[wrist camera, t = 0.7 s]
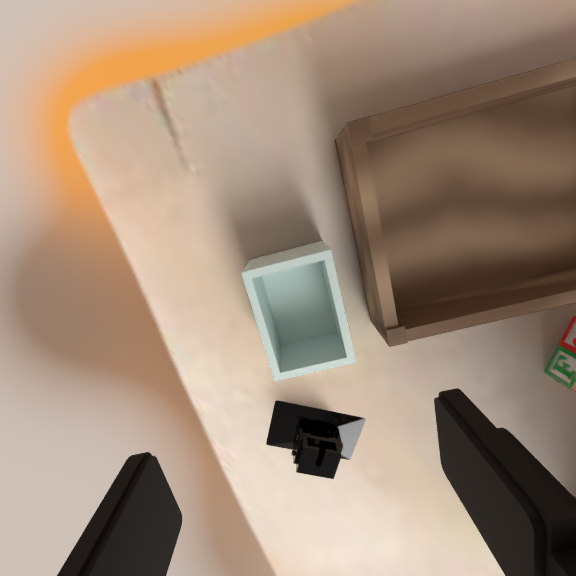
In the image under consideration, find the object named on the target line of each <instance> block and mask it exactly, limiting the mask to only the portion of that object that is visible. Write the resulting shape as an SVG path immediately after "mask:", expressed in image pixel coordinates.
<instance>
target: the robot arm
mask: <svg viewBox="0 0 576 576" xmlns="http://www.w3.org/2000/svg"><path fill="white" fill-rule="evenodd" d="M434 403H435V412H436V422H437V431H438V440H439V449H440V458H441V465H442V468H443V471H444V473H445V475H446V477H447V478H448V480H449V482H450V483H451V485H452V487H453V488H454V490H455V492H456V493H457V495H458V497H459V498H460V500H461V502H462V503H463V505H464V507H465V508H466V510H467V512H468V514H469V515H470V517H471V519H472V520H473V522H474V524H475V525H476V527H477V529H478V530H479V532H480V534H481V535H482V537H483V539H484V540H485V542H486V544H487V545H488V547H489V549H490V550H491V552H492V554H493V556H494V557H495V559H496V561H497V562H498V564H499V566H500V567H501V569H502V571H503V572H504V574H505V576H576V499H575V498H574V497H573V496H572V495H571V494H570V493H569V492H568V491H567V490H566V489H565V488H564V487H563V485H562V484H561V483H560V482H559V481H558V480H557V479H556V478H555V477H554V476H553V475H552V474H551V473H550V472H549V471H548V470H547V469H546V468H545V467H544V466H543V465H542V464H541V463H540V462H539V461H538V460H537V459H536V458H535V457H534V456H533V455H532V454H531V453H530V452H529V451H528V450H527V449H526V448H525V447H524V446H523V445H522V444H521V443H520V442H519V441H518V440H517V439H516V438H515V437H514V436H513V435H512V434H511V433H510V432H509V431H508V430H506V429H504V428H496V427H495V426H494V425H493V424H492V423H491V422H490V421H489V420H488V418H487V417H486V416H485V415H484V414H483V413H482V412H481V411H480V410H479V409H478V408H477V407H476V406H475V405H474V404H473V403H472V402H471V400H470V399H469V398H468V397H467V396H466V395H465V394H464V393H463V392H462V391H461V390H460V389H458V388H457V389H452V390H447V391H442V392H439V397H437V398H435V399H434ZM181 525H182V514H181V511H180V509H179V507H178V504H177V502H176V500H175V498H174V496H173V493H172V491H171V489H170V487H169V485H168V482H167V480H166V478H165V476H164V473H163V471H162V469H161V467H160V464H159V462H158V460H157V458H156V457H155V456H152V455H151V454H150V453H149V452H146V453H141V454H136V455H132V456H130V457H129V458H128V459H127V460H126V462H125V464H124V466H123V467H122V469H121V470H120V472H119V474H118V475H117V477H116V479H115V480H114V482H113V484H112V485H111V487H110V489H109V490H108V492H107V494H106V495H105V497H104V499H103V500H102V502H101V504H100V505H99V507H98V509H97V510H96V512H95V514H94V515H93V517H92V519H91V520H90V522H89V524H88V525H87V527H86V529H85V530H84V532H83V534H82V535H81V537H80V539H79V540H78V542H77V544H76V545H75V547H74V549H73V550H72V552H71V554H70V555H69V557H68V558H67V560H66V562H65V563H64V565H63V567H62V568H61V570H60V572H59V573H58V575H57V576H166V574H167V570H168V567H169V564H170V561H171V558H172V554H173V551H174V548H175V545H176V542H177V538H178V535H179V532H180V529H181Z"/></svg>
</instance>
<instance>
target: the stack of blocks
mask: <svg viewBox="0 0 576 576" xmlns="http://www.w3.org/2000/svg"><path fill="white" fill-rule="evenodd" d="M545 373H546V374H548V375H549V376H551V377H552V378H554V379H555V380H556V381H558V382H559V383H561V384H562V385H564V386H565V387H567V388H568V389H570V390H572V391H575V392H576V316H574V318H573V320H572V321H571V323H570V325H569V327H568V329H567V331H566V332H565V334H564V336H563V338H562V340H561V342H560V343H559V346H558V348H557V350H556V352H555V354H554V355H553V357H552V359H551V361H550V363H549V364H548V366H547V368H546V370H545Z"/></svg>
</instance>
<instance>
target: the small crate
mask: <svg viewBox="0 0 576 576" xmlns="http://www.w3.org/2000/svg"><path fill="white" fill-rule="evenodd" d="M241 274H242V277H243V280H244V284H245V287H246V290H247V293H248V297H249V300H250V303H251V306H252V310H253V313H254V316H255V319H256V322H257V326H258V329H259V332H260V335H261V339H262V342H263V345H264V348H265V352H266V355H267V358H268V361H269V365H270V368H271V371H272V374H273V377H274V381H278V380H283V379H287V378H291V377H296V376H300V375H304V374H309V373H313V372H318V371H322V370H326V369H331V368H335V367H339V366H344V365H348V364H352V363H356V359H355V355H354V350H353V346H352V341H351V337H350V332H349V328H348V323H347V319H346V314H345V310H344V305H343V301H342V296H341V292H340V287H339V283H338V278H337V274H336V269H335V265H334V260H333V256H332V251H331V249H330V248H329V247H328V246H327V245H326V244H325V243H324V242H323V241H319V242H315V243H311V244H307V245H303V246H300V247H296V248H292V249H288V250H284V251H280V252H277V253H273V254H269V255H265V256H261V257H257V258H253V259H250V261H249V262H248V264H247V265H246V266H245V268H244V269H243V271H242V272H241Z"/></svg>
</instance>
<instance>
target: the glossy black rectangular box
mask: <svg viewBox="0 0 576 576" xmlns="http://www.w3.org/2000/svg"><path fill="white" fill-rule="evenodd" d="M364 422H365V418H361V417H356V416H351V415H346V414H341V413H336V412H332V411H327V410H322V409H317V408H312V407H307V406H302V405H297V404H292V403H287V402H282V401H275V405H274V410H273V414H272V419H271V424H270V429H269V433H268V438H267V443H266V444H267V445H271V446H276V447H282V448H287V449H293V450H292V455H293V463H294V464H296V472H298V473H303V474H309V475H314V476H320V477H325V478H331V479H334V476H335V473H336V470H337V468H338V465H339V462H340V459H341V458H342V459H348V460H349V459H351V456H352V454H353V451H354V448H355V446H356V443H357V441H358V438H359V435H360V433H361V430H362V428H363V425H364Z"/></svg>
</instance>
